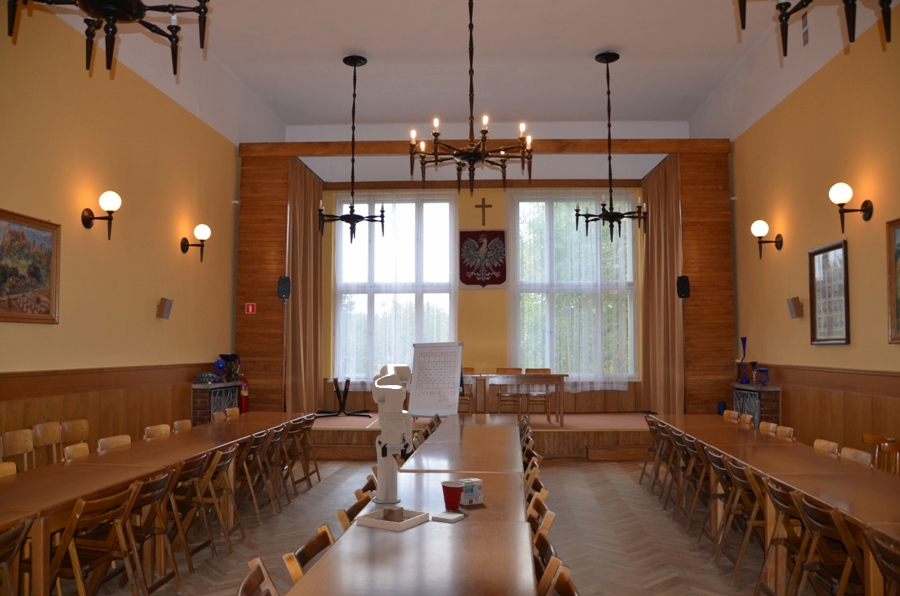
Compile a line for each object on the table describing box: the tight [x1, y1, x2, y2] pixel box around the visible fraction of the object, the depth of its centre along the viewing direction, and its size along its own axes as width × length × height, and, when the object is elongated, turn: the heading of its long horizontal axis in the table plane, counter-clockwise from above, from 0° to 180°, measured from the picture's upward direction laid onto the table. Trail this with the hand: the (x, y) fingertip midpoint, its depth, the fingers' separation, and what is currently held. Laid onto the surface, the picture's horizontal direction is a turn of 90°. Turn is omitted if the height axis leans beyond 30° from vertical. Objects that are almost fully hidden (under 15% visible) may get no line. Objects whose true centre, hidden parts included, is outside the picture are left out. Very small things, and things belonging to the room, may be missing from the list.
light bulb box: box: [456, 477, 484, 506], centre depth 330 cm, size 11×7×11 cm, turn 122°
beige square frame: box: [356, 506, 430, 532], centre depth 293 cm, size 22×22×3 cm
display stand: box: [431, 511, 465, 524], centre depth 299 cm, size 10×10×2 cm
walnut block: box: [382, 505, 404, 523], centre depth 294 cm, size 6×6×6 cm
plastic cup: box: [440, 480, 465, 512], centre depth 316 cm, size 11×11×12 cm
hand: (393, 457), depth 295 cm, fingers open, 9 cm apart
